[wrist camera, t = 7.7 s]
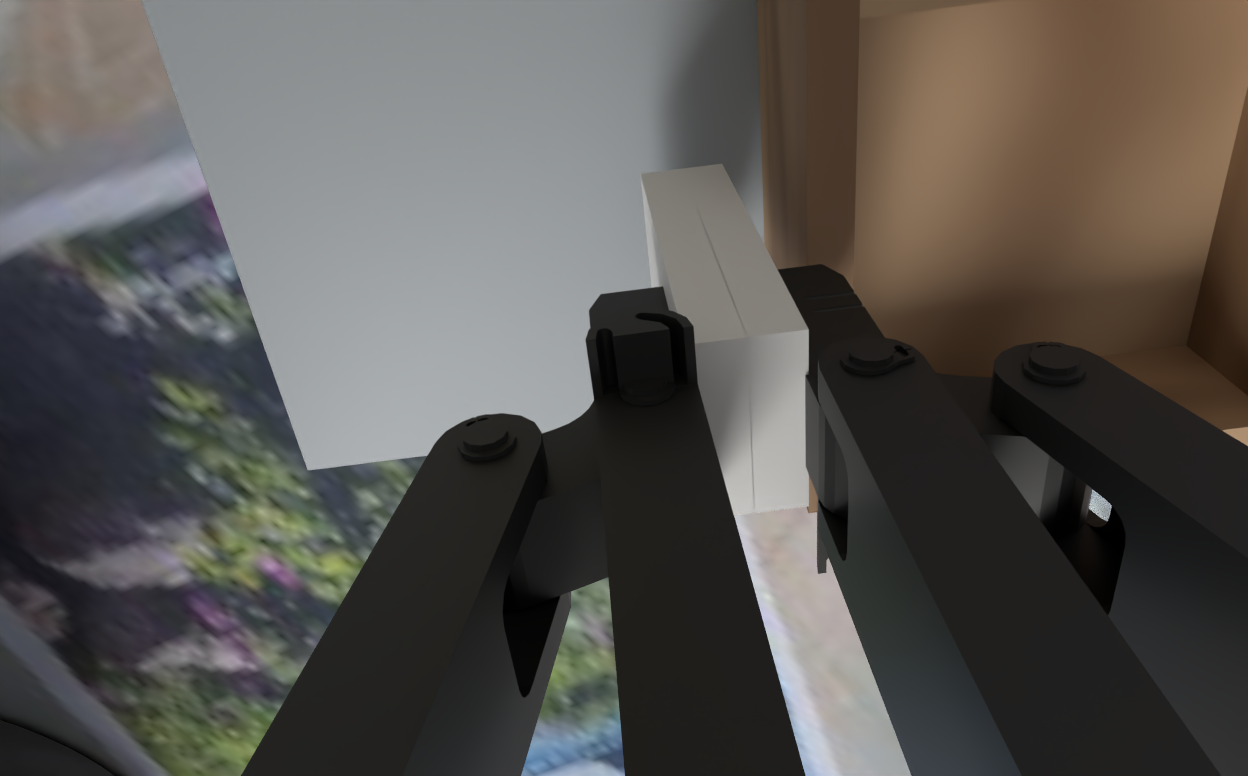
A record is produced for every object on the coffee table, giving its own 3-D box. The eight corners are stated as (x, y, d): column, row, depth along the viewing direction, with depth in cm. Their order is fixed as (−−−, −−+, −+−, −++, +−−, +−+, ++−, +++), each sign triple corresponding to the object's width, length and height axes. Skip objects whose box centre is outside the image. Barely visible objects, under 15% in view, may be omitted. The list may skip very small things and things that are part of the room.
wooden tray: (769, 405, 21) (808, 513, 17) (754, -61, 16) (806, -33, 13) (1191, 353, 21) (1310, 451, 17) (1309, -132, 16) (1504, -121, 13)
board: (319, 440, 22) (259, 594, 18) (166, -11, 17) (25, 46, 12) (1240, 325, 22) (1415, 452, 17) (1372, -164, 17) (1667, -160, 12)
